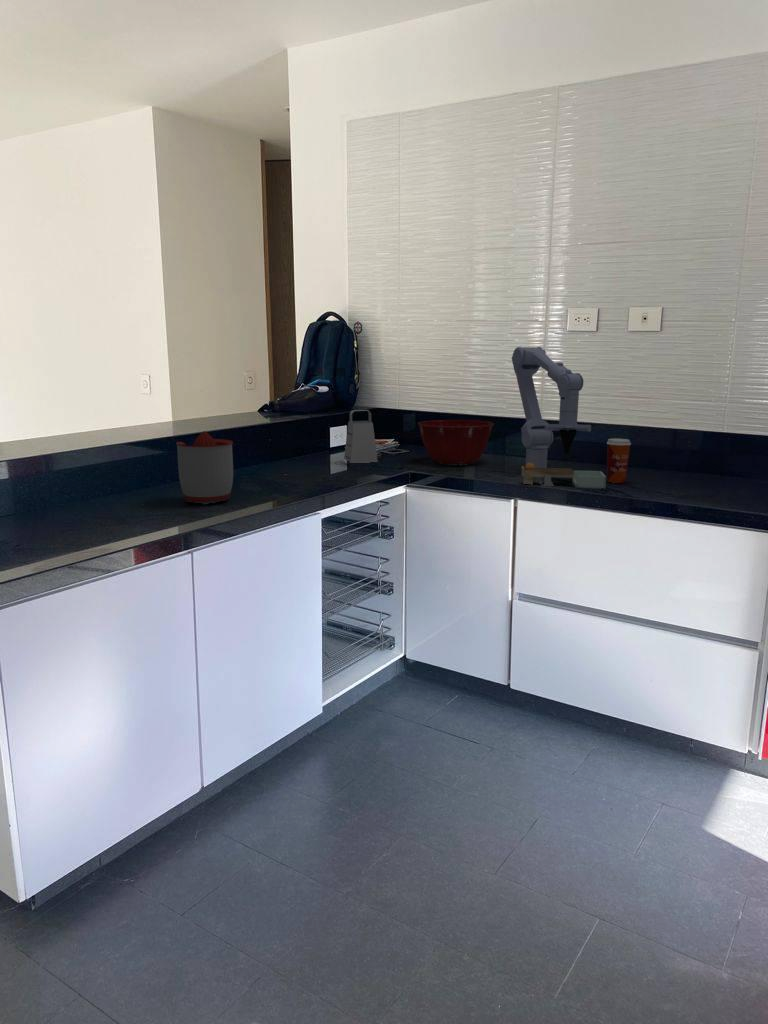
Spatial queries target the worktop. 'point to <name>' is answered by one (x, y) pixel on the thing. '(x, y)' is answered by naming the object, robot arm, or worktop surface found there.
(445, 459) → the mixing bowl
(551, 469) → the wooden ramp
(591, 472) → the tray
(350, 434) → the grater
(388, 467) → the worktop surface
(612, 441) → the paper cup
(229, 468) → the citrus juicer
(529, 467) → the ball
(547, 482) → the stand
